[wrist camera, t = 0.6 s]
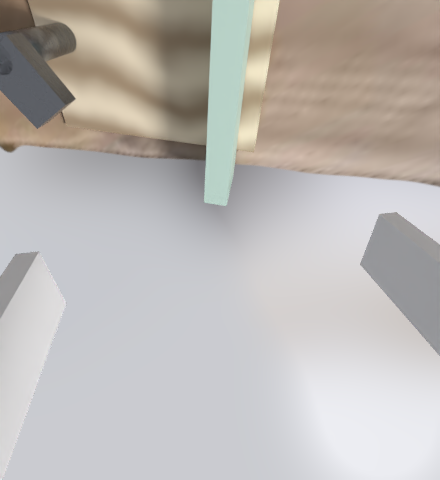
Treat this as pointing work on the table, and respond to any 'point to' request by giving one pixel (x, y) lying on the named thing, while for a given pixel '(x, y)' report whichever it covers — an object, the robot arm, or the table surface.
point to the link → (225, 93)
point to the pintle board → (152, 66)
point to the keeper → (35, 70)
